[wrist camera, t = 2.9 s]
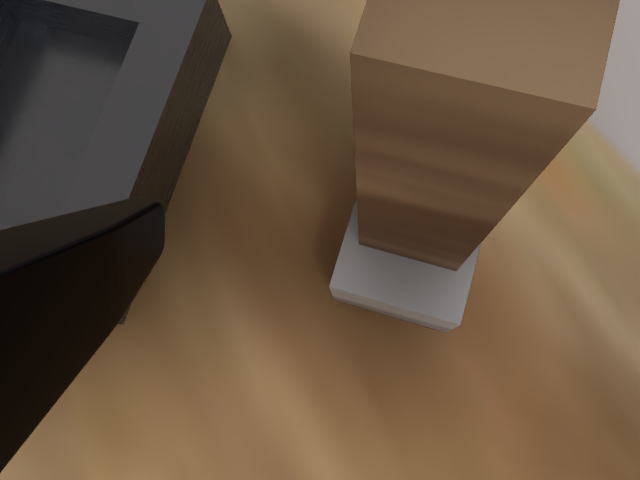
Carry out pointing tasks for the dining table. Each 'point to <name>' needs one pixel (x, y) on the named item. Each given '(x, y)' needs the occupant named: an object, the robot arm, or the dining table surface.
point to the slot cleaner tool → (456, 136)
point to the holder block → (100, 100)
